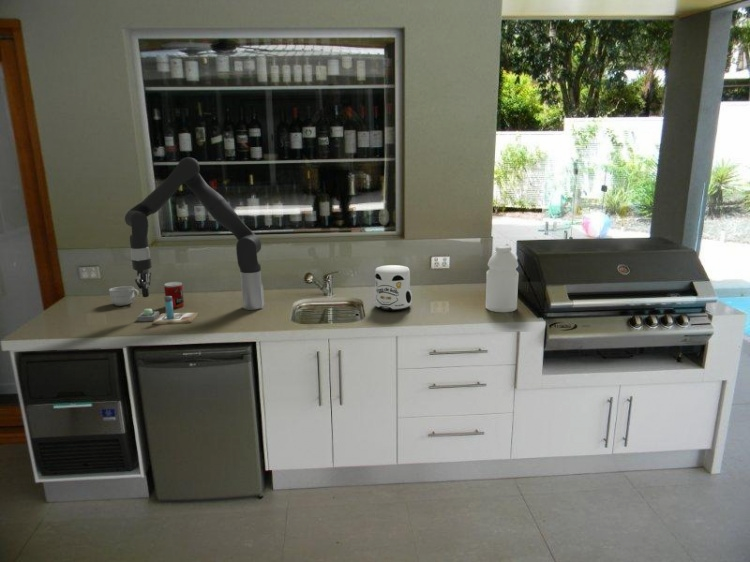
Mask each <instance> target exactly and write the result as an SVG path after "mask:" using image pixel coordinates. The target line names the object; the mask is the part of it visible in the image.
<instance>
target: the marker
mask: <svg viewBox="0 0 750 562" xmlns="http://www.w3.org/2000/svg"><path fill="white" fill-rule="evenodd" d="M163 298H164V303H165V304H164V305H165V313H166V317H167V319H172V318H174V313H175V312H174V309H173V303H172V296H164V297H163Z"/></svg>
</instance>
